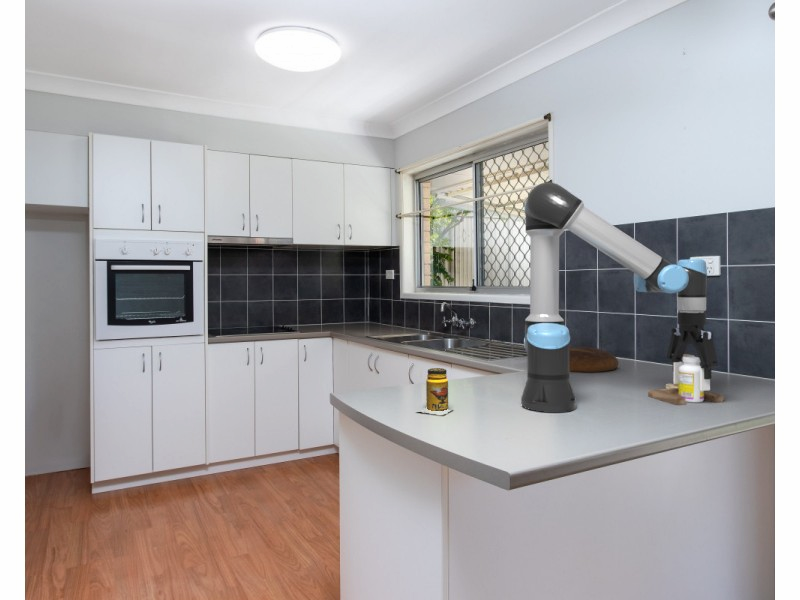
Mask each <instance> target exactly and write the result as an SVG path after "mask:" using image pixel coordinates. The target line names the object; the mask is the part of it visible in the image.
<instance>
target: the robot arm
mask: <svg viewBox="0 0 800 600" xmlns="http://www.w3.org/2000/svg"><path fill="white" fill-rule="evenodd" d="M523 210H524V211H523V212H524V216H525V233H526V234H527V236H529V238H530V244H529V245H530V249H529V250H530V255H529V256H530V258H529V259H530V261H529V262H530V263H529V264H530V265H529V267H530V269H529V270H530V271H529V272H530V273H529V275H530V277H529V278H530V281H529V282H530V284H529V285H530V286H529V289H530V290H529V292H530V293H529V294H530V295H529V296H530V297H529V301H530V303H529V309H530V310H529V312H530V313H529V314H528V316H527V317H526V318H524V319H525V320H524V321H525V322H524V338H523V346H524V350H525V352H526V355H527V356H526V357H527V358H526V359H527V360H526V365H527V370H526V371H527V372H526V373H527V376H526V381H525V382H526V383H525V385H524V389H523V392H522V395H521V396H520V397H521V399H520V405H521V404H522V406H524V407H526V408H529V409H532V410H531V411H534V410H536V411H535V412H540V411H544V412H543V413H568V412H572V411H574V410H576V409H577V401H576V396H575V393H574V390H573V388H572V384H571V380H570V372H569V347H570V340H571V335H570V330H569V328H568V327H567V326H566V325H565V323H564V321H565V320H564V318H563V317H561V315H560V314H559V313H560V312H559V309H560V303H559V302H560V301H559V300H560V236H561V235H562V234H563V233H564V232H565V230H568V231H569V232H570V233H573V234H574V235H575V236H577V237H579V238H580V239H581V240H583V241H585V242H586V243H588V244H589V245H591V246H592V247H594V248H596V249H597V250H598V251H600V252H602V253H603V254H605V255H606V256H607V257H610V259H612V260H614V261H616V262H617V263H619V264H620V265H621V266H622V267H624V268H626V269H627V270H629V271H631V272H632V273H633V286H634V290H636V292H638V293H664V294H665V293H666V294H668V295H669V294H676V295H677V302H676V303H677V304H676V305H677V306H676V309H677V310H678V312H677V320H676V321H677V322H676V324H677V325H679V327H675V328H673V327H672V328H671V330H670V331H671V338H670V340H669V341H670V342H669V346H668V351H667V356H666V358H667V359H668V360H670V361H671V362H672V373H673V383H674V384H679V367H680V366H682V365H683V362H680V361H683V360H682V357H683V355H684V354H685V352H686V350H687V348H688V346H689V344H691V345H692V346H693V347H694V349H695V351H696V354H697V357H699V359H700V361H701V362H700V366H701V368H700V390H701V391H710V390H711V379H712V369H713V368H714V367H719V362H718V358H717V357H718V356H717V354H716V353H717V352H716V348H715V343H714V332H713V331H705V328H704V327H705V326H706V325H707V313H706V312H705V311H707V284H708V280H707V279H708V278H707V277H708V269H707V261H705V260H704V259H702V258H701V259H699V258H694V259H690V258H689V259H679V260H678V261H677V264H673V263H671V262H669V261H668V260H666V259H665V258H663V257H662V256H661V255H659V254H657V253H656V252H654V251H653V250H651V249H650V248H648V247H647V246H645V245H643V243H642V242H641V243H640V242H639V241H637V240H636V239H634V238H633V237H631V236H630V235H628V234H627V233H625V232H624V231H622V230H620V229H619V228H618V227H616V226H614V225H613V224H612V223H610V222H608V221H607V220H605V219H603V217H601V216H599V215H598V214H596V213H595V212H593V211H591V210H590V209H589V208H587V207H585V204H584V201H583V200H582V199H580V198H578V197H577V196H576V195H574V194H573V193H572V192H570V191H569V190H567V189H566V188H564V187H563V186H561V185H559V184H558V183H554V182H542V183H540V184H538V185H536V186H535V187H533V188H532V189H531V190H530V192H529V193H528V196H527V198H526V200H525V204H524V209H523ZM672 354H673V355H672ZM522 406H521V407H522ZM524 407H523V408H524ZM526 408H525V409H526ZM529 409H528V410H529Z"/></svg>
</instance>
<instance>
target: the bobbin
mask: <svg viewBox="0 0 800 600" xmlns="http://www.w3.org/2000/svg"><path fill="white" fill-rule="evenodd" d="M672 355H673V354H672ZM687 356H688V357H696V356H695V355H694V354H687V353H684V355H683V357H687ZM683 357H682V360H683ZM680 362H683V361H680ZM683 363H684V362H683ZM671 388H679V384H674V383H666V384H665V389H671Z"/></svg>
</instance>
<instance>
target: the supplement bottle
mask: <svg viewBox="0 0 800 600" xmlns="http://www.w3.org/2000/svg"><path fill="white" fill-rule="evenodd" d="M683 362H684V363H683V365H682V366H680V367H679V396H682V397H685V403H695V404H696V403H702V402H704V391H701V390H700V368H701V366H702V365H701V361H700V359H699V356H695V357H688V356H687V357H683Z"/></svg>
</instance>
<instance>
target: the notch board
mask: <svg viewBox="0 0 800 600" xmlns="http://www.w3.org/2000/svg"><path fill="white" fill-rule="evenodd" d="M647 397H650V398H651V399H652V398H653V399H656V400H659V401H662V402H666V403H669V404H671V405H675V406H682V405H686V402H685V397H682V396H679V388H671V389H666V388H659V389H648V390H647ZM704 400H705V401H708V402H713V403H720V402H721V403H722V402H724V394H722V393H717V392H713V391H710V390H706V391H704ZM704 400H703V401H704Z"/></svg>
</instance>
